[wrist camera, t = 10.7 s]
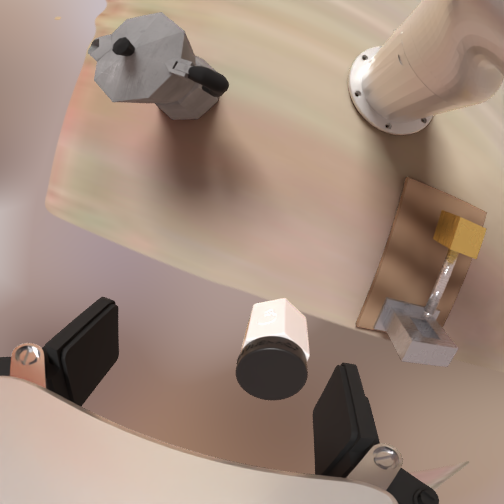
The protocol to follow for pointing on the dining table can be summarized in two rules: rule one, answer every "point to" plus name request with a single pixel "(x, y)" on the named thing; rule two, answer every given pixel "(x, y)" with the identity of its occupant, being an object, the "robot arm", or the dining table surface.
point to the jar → (274, 351)
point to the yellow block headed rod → (453, 250)
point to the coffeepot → (156, 68)
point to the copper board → (418, 253)
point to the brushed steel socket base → (415, 333)
